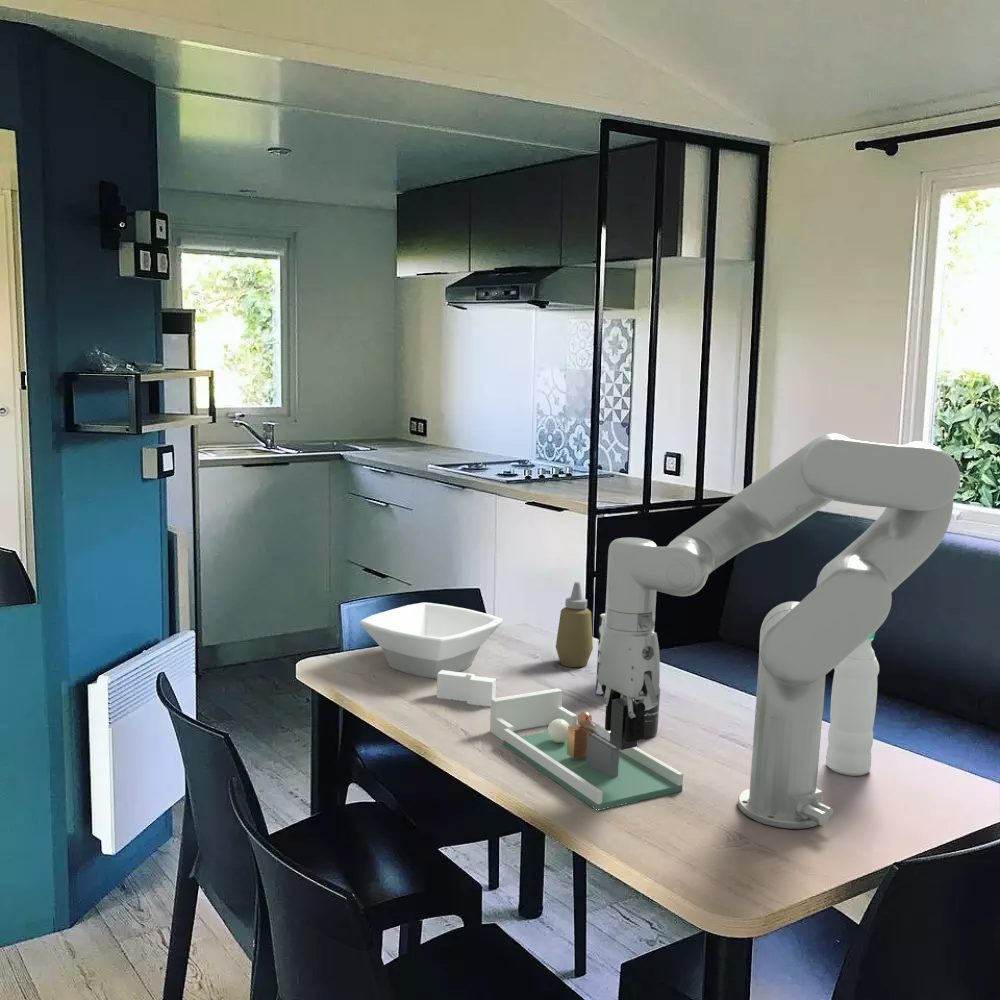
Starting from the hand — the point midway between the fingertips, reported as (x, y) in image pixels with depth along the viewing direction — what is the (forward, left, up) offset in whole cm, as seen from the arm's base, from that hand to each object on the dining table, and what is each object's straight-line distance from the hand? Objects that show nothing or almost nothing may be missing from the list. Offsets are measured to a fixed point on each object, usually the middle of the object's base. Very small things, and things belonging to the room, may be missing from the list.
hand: (623, 733), depth 158 cm
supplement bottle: (+18, -17, -9) cm, 26 cm away
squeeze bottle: (+57, -29, -9) cm, 65 cm away
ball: (+18, 0, -6) cm, 19 cm away
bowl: (+68, 0, -9) cm, 69 cm away
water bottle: (-10, -39, -9) cm, 41 cm away
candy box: (+39, -29, -9) cm, 49 cm away
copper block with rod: (+5, 0, -7) cm, 9 cm away
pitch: (+12, 0, -9) cm, 15 cm away
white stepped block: (+45, +3, -10) cm, 46 cm away
